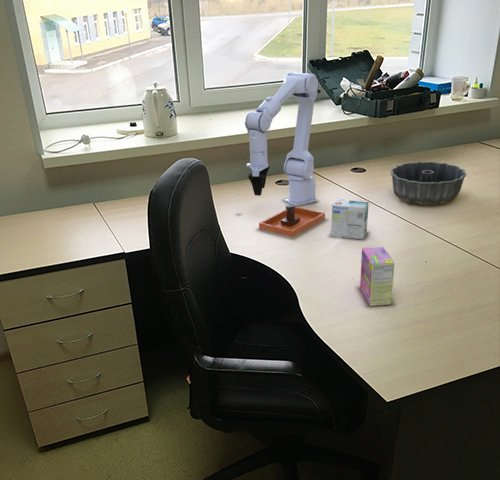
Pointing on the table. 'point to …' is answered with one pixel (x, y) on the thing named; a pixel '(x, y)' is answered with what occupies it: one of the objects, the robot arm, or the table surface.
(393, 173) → the bundt pan
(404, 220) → the table surface
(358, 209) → the light bulb box
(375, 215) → the table surface
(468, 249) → the table surface
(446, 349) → the table surface
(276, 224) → the tray
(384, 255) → the box
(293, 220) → the stamp
